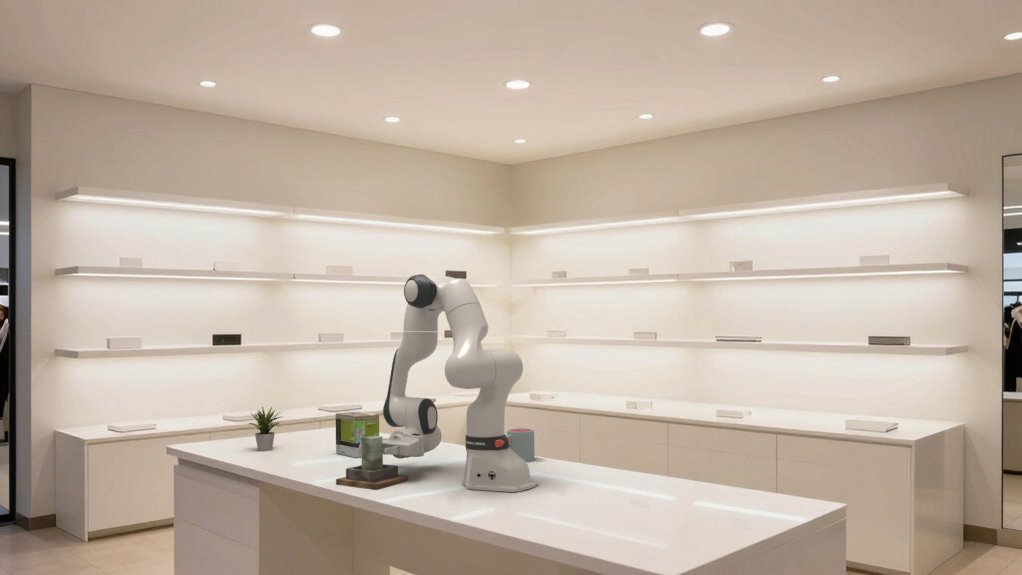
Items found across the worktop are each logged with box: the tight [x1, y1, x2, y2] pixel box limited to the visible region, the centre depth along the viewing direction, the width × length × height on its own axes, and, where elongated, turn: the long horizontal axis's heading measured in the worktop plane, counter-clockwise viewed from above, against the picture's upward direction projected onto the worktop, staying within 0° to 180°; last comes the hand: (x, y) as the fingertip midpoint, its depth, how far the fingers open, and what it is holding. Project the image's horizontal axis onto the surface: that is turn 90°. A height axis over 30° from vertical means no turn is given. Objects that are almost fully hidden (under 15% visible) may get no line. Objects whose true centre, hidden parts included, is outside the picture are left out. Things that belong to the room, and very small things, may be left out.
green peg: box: [361, 435, 384, 471], centre depth 250 cm, size 4×4×12 cm
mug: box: [505, 427, 536, 463], centre depth 281 cm, size 14×9×10 cm
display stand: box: [335, 463, 409, 491], centre depth 249 cm, size 16×14×4 cm
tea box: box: [335, 411, 380, 459], centre depth 300 cm, size 15×10×15 cm, turn 40°
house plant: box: [248, 406, 285, 452], centre depth 312 cm, size 14×14×16 cm
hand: (372, 450), depth 250 cm, fingers open, 8 cm apart
